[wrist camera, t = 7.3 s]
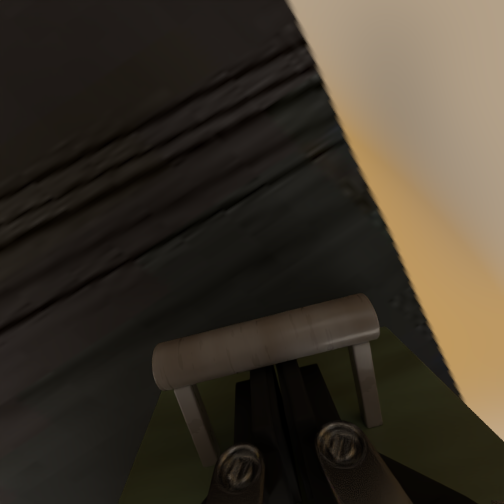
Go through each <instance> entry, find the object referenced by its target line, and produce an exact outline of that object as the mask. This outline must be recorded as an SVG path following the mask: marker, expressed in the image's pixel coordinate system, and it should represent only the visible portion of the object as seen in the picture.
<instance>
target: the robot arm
mask: <svg viewBox="0 0 504 504" xmlns="http://www.w3.org/2000/svg"><path fill="white" fill-rule="evenodd" d="M276 368H277V374H278V379H279V384H280V388H279V384H278V380H277V377H276V373H275V369H274V365H269V366H265V367H261V368H257V369H253V370H250V379H249V380H245V381H241V382H236V386H235V417H234V445H232V446H230V447H228V448H227V449H226V450H225V451H224V452H223V453H222V454H221V455H220V457H219V458H218V460H217V462H216V465H215V467H214V471H213V475H212V479H211V483H210V488H209V492H208V495H207V497H206V498H205V499H204V500H203V502H202V503H201V504H296V503H300V502H302V498H301V492H300V487H299V482H298V477H297V471H296V466H295V461H294V456H293V451H292V445H291V440H292V444H293V448H294V451H295V455H296V459H297V463H298V466H299V470H300V474H301V478H302V481H303V485H304V489H305V493H306V496H307V500H308V501H309V500H314V501H315V504H478V503H476V502H475V501H473V500H471V499H470V498H468V497H467V496H465V495H463V494H461V493H459V492H457V491H455V490H453V489H451V488H449V487H447V486H445V485H443V484H441V483H439V482H437V481H435V480H433V479H431V478H429V477H427V476H425V475H423V474H421V473H419V472H417V471H415V470H413V469H411V468H409V467H407V466H405V465H403V464H401V463H399V462H397V461H395V460H393V459H391V458H389V457H387V456H385V455H383V454H381V453H379V452H377V450H376V449H375V447H374V446H373V445H372V443H371V442H370V440H369V439H368V437H367V436H366V434H365V433H364V432H363V431H362V430H361V429H360V428H359V427H358V426H356V425H354V424H353V423H350V422H347V421H343V420H341V418H340V416H339V414H338V411H337V409H336V407H335V404H334V402H333V400H332V397H331V395H330V392H329V390H328V388H327V385H326V383H325V381H324V378H323V376H322V374H321V371H320V369H319V367H318V364H317V363H316V364H312V365H307V366H303V367H299V366H298V362H297V359H294V360H290V361H286V362H282V363H277V364H276ZM280 389H281V392H280ZM281 395H282V396H281ZM288 429H289V430H288ZM289 433H290V435H289ZM290 436H291V440H290ZM491 504H504V501H497V500H491Z"/></svg>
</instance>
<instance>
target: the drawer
mask: <svg viewBox="0 0 504 504" xmlns="http://www.w3.org/2000/svg"><path fill="white" fill-rule="evenodd" d="M294 359H297V362H298V366H299V367H303V366H307V365H312V364H316V363H317V364H318V367H319V369H320V371H321V374H322V376H323V378H324V381H325V383H326V385H327V388H328V390H329V392H330V395H331V397H332V400H333V402H334V404H335V407H336V409H337V411H338V414H339V416H340V418H341V420H343V421H347V422H350V423H353V424H354V425H356V426H358V427H359V428H360V429H361V430H362V431H363V432H364V433H365V434H366V436H367V437H368V439H369V440H370V442H371V443H372V445H373V446H374V447H375V449H376V450H377V452H379V453H381V454H383V455H385V456H387V457H389V458H391V459H393V460H395V461H397V462H399V463H401V464H403V465H405V466H407V467H409V468H411V469H413V470H415V471H417V472H419V473H421V474H423V475H425V476H427V477H429V478H431V479H433V480H435V481H437V482H439V483H441V484H443V485H445V486H447V487H449V488H451V489H453V490H455V491H457V492H459V493H461V494H463V495H465V496H467V497H468V498H470V499H471V500H473V501H475V502H476V503H478V504H491V500H497V501H504V442H503V440H502V439H500V438H499V437H498V436H497V435H496V434H495V433H494V432H493V431H492V430H491V429H490V428H489V427H488V426H487V425H486V424H485V423H484V422H483V421H482V420H481V419H480V418H479V417H478V416H477V415H476V414H475V413H474V412H473V411H472V410H471V409H470V408H469V407H468V406H467V405H466V404H465V403H464V402H463V401H462V400H461V399H460V398H459V397H458V396H456V395H455V394H454V393H453V392H452V391H451V390H450V389H449V388H448V387H447V386H446V385H445V384H444V383H443V382H442V381H441V380H440V379H439V378H438V377H437V376H436V375H435V374H434V373H433V372H432V371H431V370H430V369H429V368H428V367H427V366H426V365H425V364H424V363H423V362H422V361H421V360H420V359H419V358H418V357H417V356H416V355H414V354H413V353H412V352H411V351H410V350H409V349H408V348H407V347H406V346H405V345H404V344H403V343H402V342H401V341H400V340H399V339H398V338H397V337H396V336H395V335H394V334H393V333H392V332H391V331H390V330H389V329H388V328H387V327H381V328H380V327H379V322H378V318H377V315H376V312H375V310H374V308H373V306H372V304H371V302H370V301H369V299H368V298H367V297H366V296H365V295H364V294H363V293H358V294H354V295H350V296H346V297H342V298H338V299H334V300H330V301H326V302H322V303H318V304H314V305H310V306H306V307H302V308H298V309H294V310H290V311H286V312H282V313H278V314H274V315H270V316H266V317H262V318H258V319H254V320H250V321H246V322H242V323H238V324H234V325H230V326H226V327H222V328H218V329H214V330H210V331H206V332H202V333H198V334H194V335H190V336H186V337H182V338H178V339H174V340H170V341H166V342H162V343H159V344H158V345H156V347H155V349H154V351H153V356H152V370H153V376H154V380H155V382H156V384H157V386H158V388H159V389H160V390H162V391H161V394H160V396H159V399H158V402H157V404H156V407H155V409H154V412H153V414H152V417H151V420H150V422H149V425H148V427H147V430H146V432H145V435H144V438H143V440H142V443H141V445H140V448H139V450H138V453H137V456H136V458H135V461H134V463H133V466H132V468H131V471H130V474H129V476H128V479H127V481H126V484H125V486H124V489H123V492H122V494H121V497H120V499H119V502H118V504H201V503H202V502H203V500H204V499H205V498H206V497H207V495H208V492H209V488H210V483H211V479H212V475H213V471H214V467H215V465H216V462H217V460H218V458H219V457H220V455H221V454H222V453H223V452H224V451H225V450H226V449H227V448H228V447H230V446H232V445H234V417H235V386H236V382H241V381H245V380H249V379H250V370H253V369H257V368H261V367H265V366H269V365H274V369H275V373H276V377H277V380H278V384H279V379H278V374H277V368H276V364H277V363H282V362H286V361H290V360H294ZM279 388H280V384H279ZM280 392H281V389H280ZM281 396H282V395H281ZM288 430H289V429H288ZM289 435H290V433H289ZM290 440H291V436H290ZM291 445H292V451H293V456H294V461H295V466H296V471H297V477H298V482H299V487H300V492H301V498H302V502H300V503H296V504H315V501H314V500H309V501H308V500H307V496H306V493H305V489H304V485H303V481H302V478H301V474H300V470H299V466H298V463H297V459H296V455H295V451H294V448H293V444H292V440H291Z"/></svg>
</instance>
